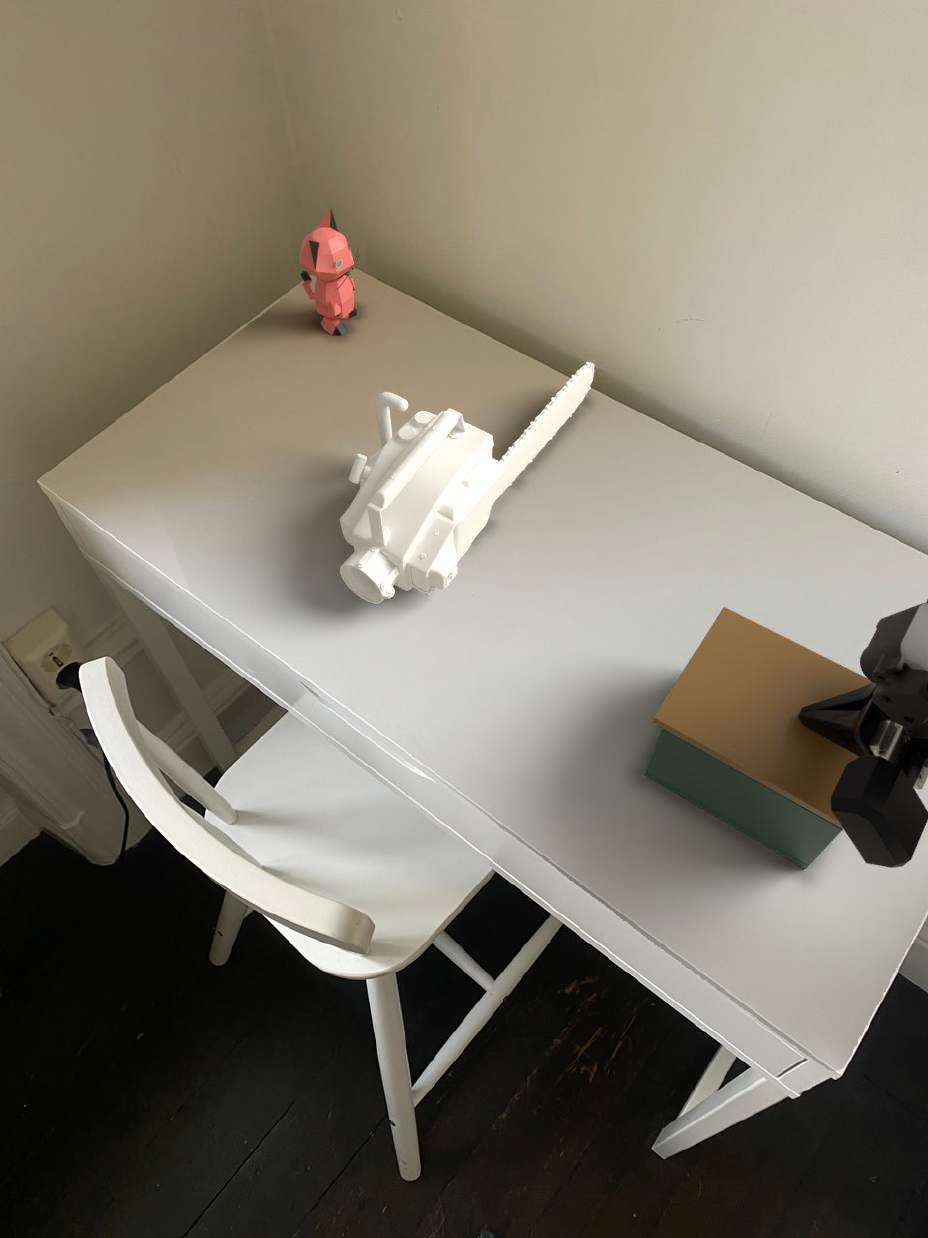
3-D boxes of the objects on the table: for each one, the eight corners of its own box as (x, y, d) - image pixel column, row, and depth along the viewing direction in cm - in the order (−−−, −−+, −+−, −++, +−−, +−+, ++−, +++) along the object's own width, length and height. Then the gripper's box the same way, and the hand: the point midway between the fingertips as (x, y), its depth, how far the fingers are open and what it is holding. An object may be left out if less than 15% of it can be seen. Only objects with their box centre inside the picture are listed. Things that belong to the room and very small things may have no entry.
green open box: (643, 775, 73) (661, 728, 66) (708, 670, 78) (731, 616, 71) (805, 869, 68) (842, 830, 61) (862, 752, 74) (902, 703, 67)
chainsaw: (615, 403, 96) (632, 303, 85) (419, 638, 80) (411, 551, 70) (494, 349, 101) (496, 248, 90) (287, 561, 85) (261, 468, 74)
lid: (651, 722, 66) (653, 717, 65) (721, 611, 71) (724, 606, 71) (843, 830, 61) (846, 825, 61) (902, 702, 67) (907, 697, 66)
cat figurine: (352, 345, 101) (338, 249, 91) (295, 333, 102) (275, 237, 92) (374, 305, 105) (363, 209, 95) (319, 294, 106) (302, 198, 96)
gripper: (1042, 516, 54) (804, 545, 66) (936, 759, 45) (687, 739, 58) (1101, 650, 58) (867, 654, 70) (1014, 895, 49) (766, 849, 62)
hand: (801, 716), depth 65 cm, fingers closed, pressing on lid
